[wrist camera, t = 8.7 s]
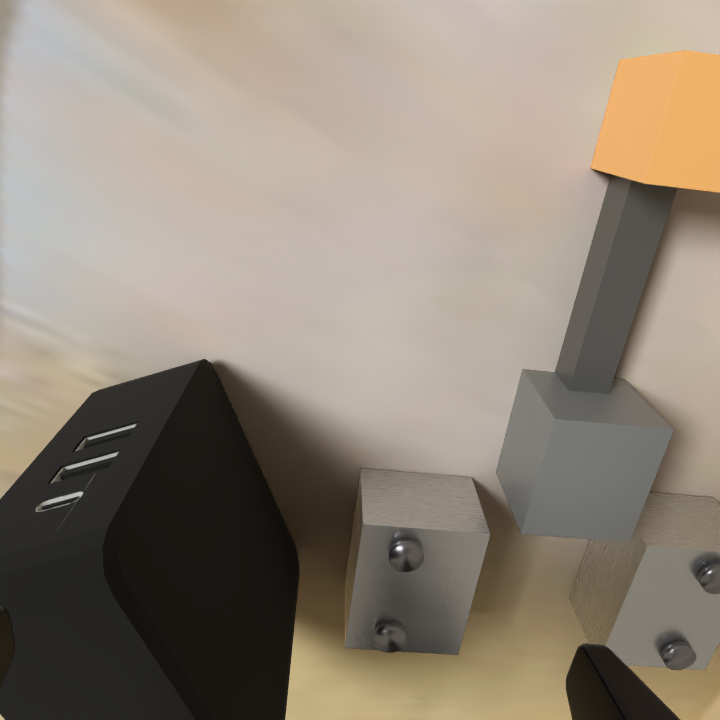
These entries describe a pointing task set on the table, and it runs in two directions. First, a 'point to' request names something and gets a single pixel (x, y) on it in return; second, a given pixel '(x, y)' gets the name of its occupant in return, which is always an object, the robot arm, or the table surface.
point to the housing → (589, 594)
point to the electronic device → (148, 564)
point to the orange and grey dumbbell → (613, 313)
